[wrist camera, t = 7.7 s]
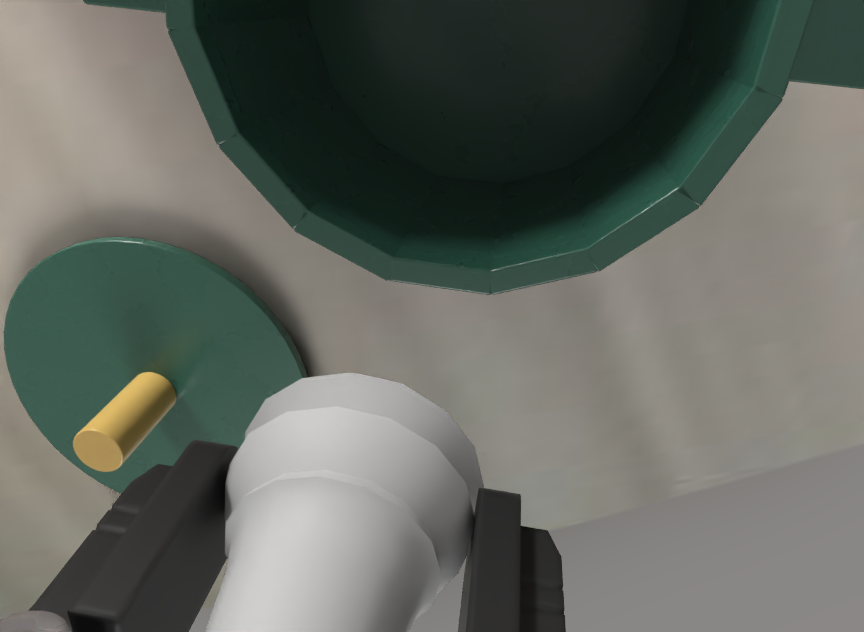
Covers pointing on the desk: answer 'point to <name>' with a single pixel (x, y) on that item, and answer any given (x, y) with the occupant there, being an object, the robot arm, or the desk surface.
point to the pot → (496, 118)
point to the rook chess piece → (344, 509)
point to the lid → (141, 354)
